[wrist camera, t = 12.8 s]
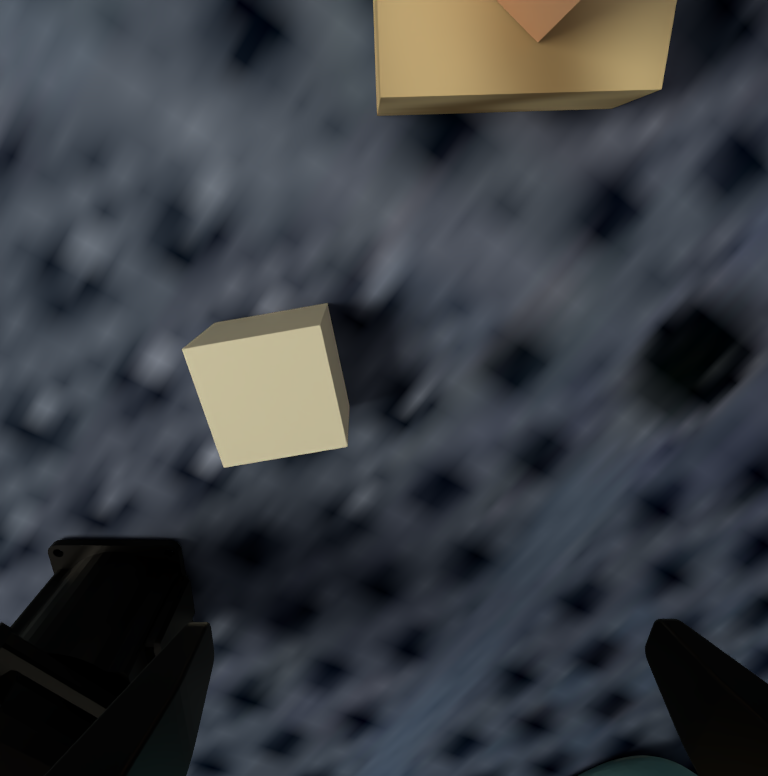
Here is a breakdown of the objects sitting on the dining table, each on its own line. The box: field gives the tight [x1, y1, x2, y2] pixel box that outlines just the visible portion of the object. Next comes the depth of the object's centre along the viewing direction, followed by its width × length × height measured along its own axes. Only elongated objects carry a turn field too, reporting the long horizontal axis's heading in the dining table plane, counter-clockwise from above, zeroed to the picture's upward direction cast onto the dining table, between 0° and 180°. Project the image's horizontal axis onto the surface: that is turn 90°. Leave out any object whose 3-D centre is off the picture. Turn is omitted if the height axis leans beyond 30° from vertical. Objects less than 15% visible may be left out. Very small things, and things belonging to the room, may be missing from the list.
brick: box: [182, 303, 350, 468], centre depth 19 cm, size 5×5×4 cm
